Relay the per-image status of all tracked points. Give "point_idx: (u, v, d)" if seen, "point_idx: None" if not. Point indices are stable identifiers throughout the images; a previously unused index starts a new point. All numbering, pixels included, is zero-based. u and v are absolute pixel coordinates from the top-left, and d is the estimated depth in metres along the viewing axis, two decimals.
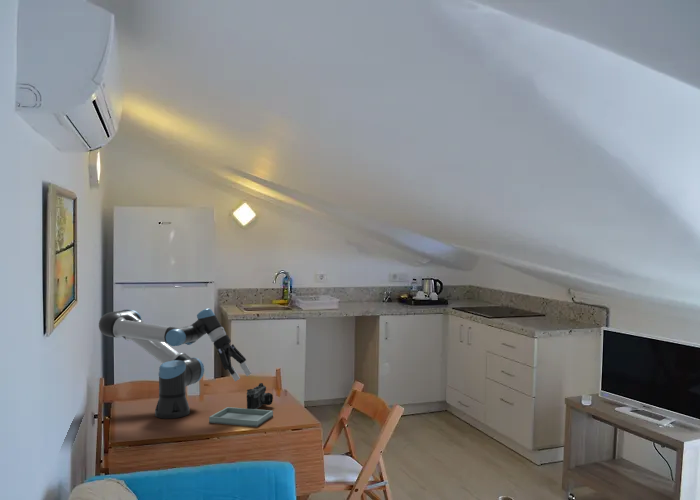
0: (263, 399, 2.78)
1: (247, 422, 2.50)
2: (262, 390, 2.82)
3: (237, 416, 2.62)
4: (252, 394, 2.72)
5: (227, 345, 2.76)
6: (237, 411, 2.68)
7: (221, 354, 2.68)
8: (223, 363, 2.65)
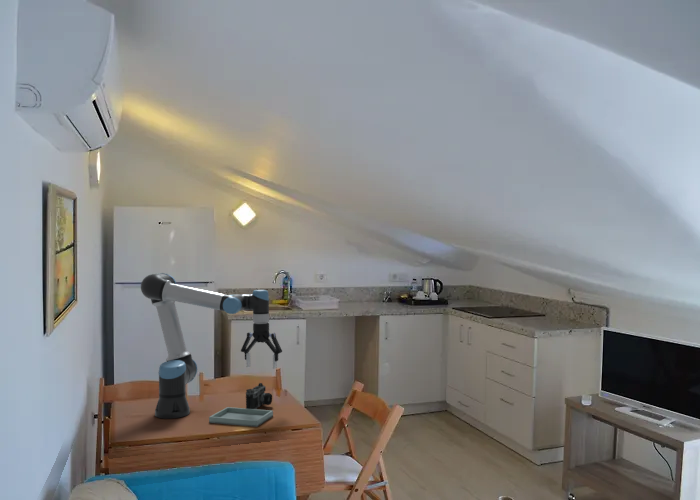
0: (262, 399, 2.78)
1: (247, 422, 2.50)
2: (261, 390, 2.82)
3: (237, 416, 2.62)
4: (251, 394, 2.72)
5: None
6: (237, 411, 2.68)
7: (275, 339, 2.77)
8: (279, 348, 2.76)
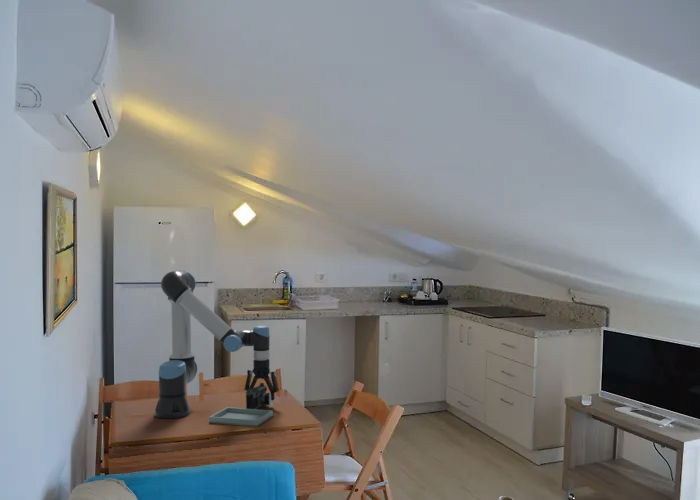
0: (263, 399, 2.77)
1: (247, 422, 2.50)
2: (262, 390, 2.81)
3: (237, 416, 2.62)
4: (251, 394, 2.72)
5: None
6: (237, 411, 2.68)
7: (274, 377, 2.78)
8: (276, 387, 2.77)
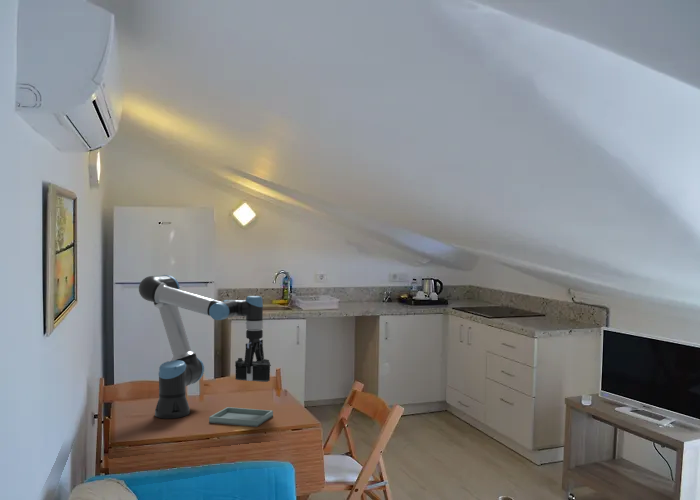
0: None
1: (247, 422, 2.50)
2: None
3: (237, 416, 2.62)
4: None
5: None
6: (237, 411, 2.68)
7: None
8: None
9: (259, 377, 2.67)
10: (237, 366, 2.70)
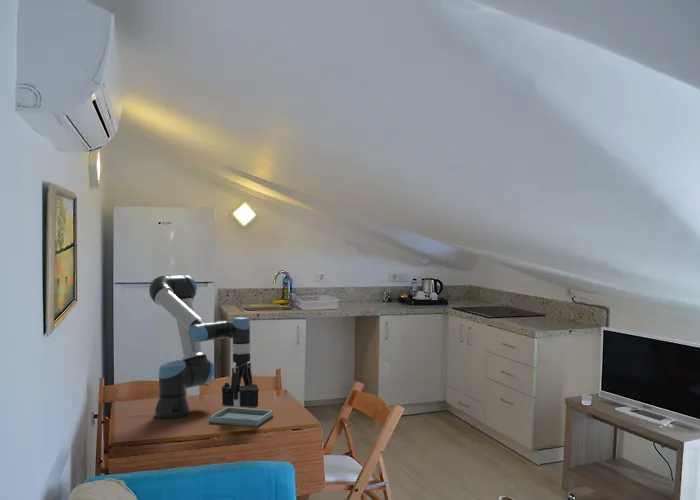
0: None
1: (247, 422, 2.50)
2: None
3: (237, 416, 2.62)
4: None
5: None
6: (237, 411, 2.68)
7: None
8: None
9: (247, 403, 2.54)
10: (224, 391, 2.57)
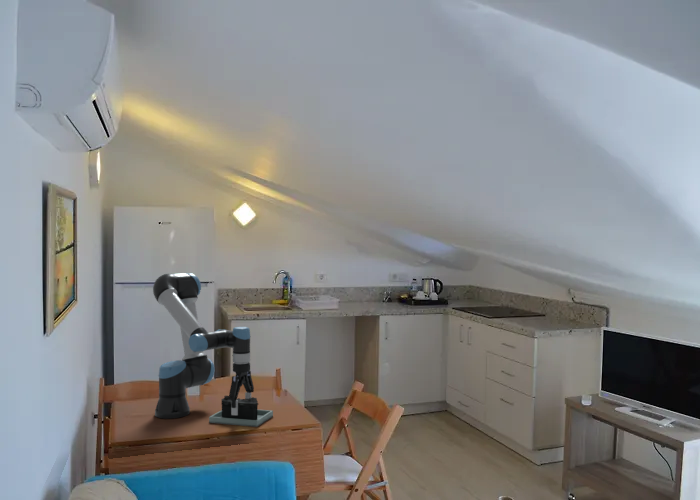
0: None
1: (247, 422, 2.50)
2: None
3: None
4: None
5: None
6: None
7: None
8: None
9: (246, 417, 2.54)
10: (223, 404, 2.57)
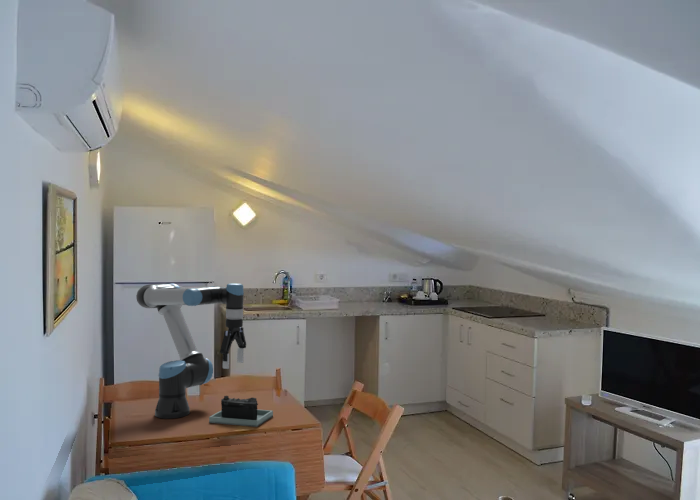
0: None
1: (247, 422, 2.50)
2: None
3: None
4: None
5: None
6: None
7: None
8: None
9: (246, 417, 2.54)
10: (223, 405, 2.57)
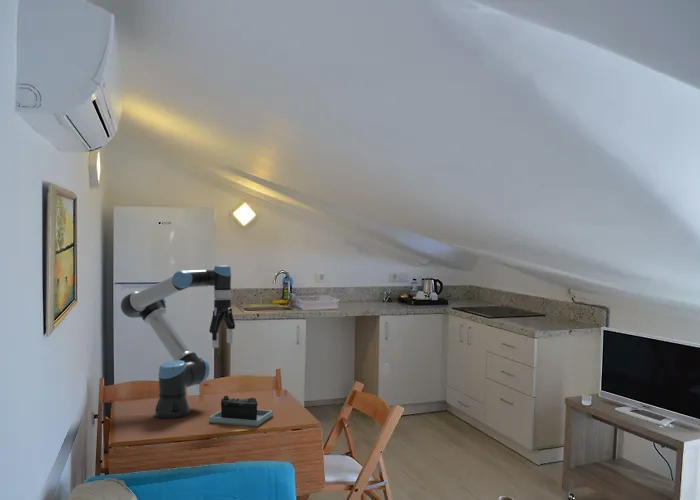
0: None
1: (247, 422, 2.50)
2: None
3: None
4: None
5: None
6: None
7: None
8: None
9: (245, 417, 2.54)
10: (223, 405, 2.57)
